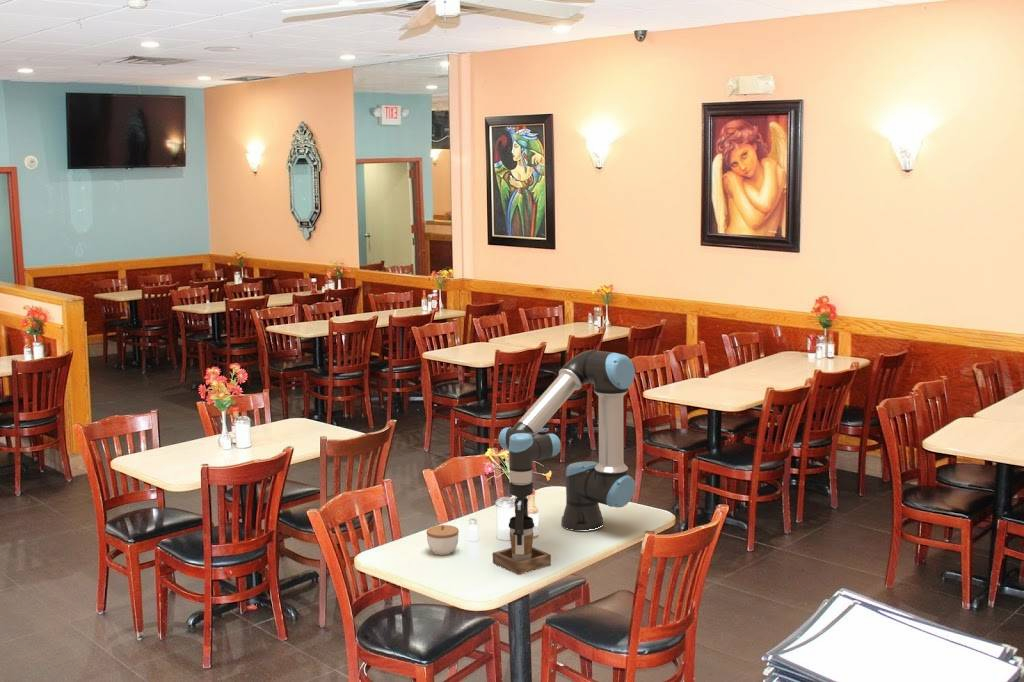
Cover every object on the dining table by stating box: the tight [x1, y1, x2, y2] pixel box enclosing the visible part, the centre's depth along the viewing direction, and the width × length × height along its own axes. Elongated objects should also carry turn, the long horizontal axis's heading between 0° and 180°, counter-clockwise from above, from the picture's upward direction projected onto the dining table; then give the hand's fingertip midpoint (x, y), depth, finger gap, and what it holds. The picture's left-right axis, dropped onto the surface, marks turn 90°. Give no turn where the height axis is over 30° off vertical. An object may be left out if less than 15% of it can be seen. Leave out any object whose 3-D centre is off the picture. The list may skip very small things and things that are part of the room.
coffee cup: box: [508, 515, 535, 562], centre depth 340 cm, size 8×8×15 cm
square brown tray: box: [492, 546, 552, 576], centre depth 341 cm, size 13×13×4 cm
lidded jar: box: [426, 524, 460, 556], centre depth 353 cm, size 11×11×9 cm
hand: (521, 548), depth 340 cm, fingers open, 10 cm apart
